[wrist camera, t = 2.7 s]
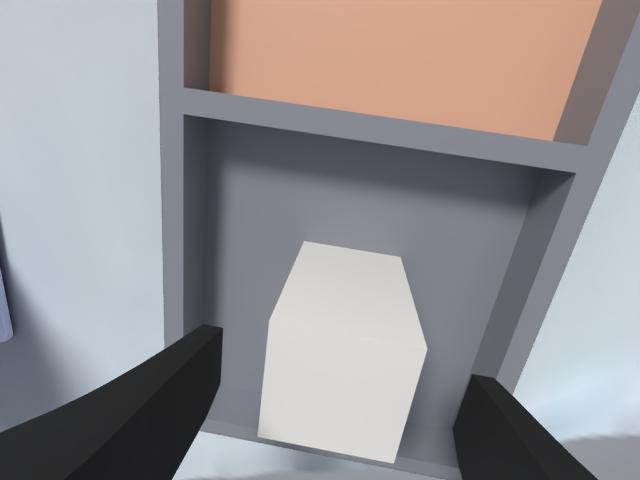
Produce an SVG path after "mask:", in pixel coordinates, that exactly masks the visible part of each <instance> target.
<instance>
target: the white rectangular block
mask: <svg viewBox="0 0 640 480" xmlns="http://www.w3.org/2000/svg"><path fill="white" fill-rule="evenodd" d="M426 352H427V346H426V342H425V339H424V335H423V332H422V328H421V325H420V322H419V318H418V315H417V311H416V308H415V305H414V301H413V298H412V294H411V291H410V287H409V284H408V281H407V277H406V274H405V270H404V267H403V264H402V260H401V257H397V256H391V255H385V254H379V253H373V252H367V251H361V250H355V249H349V248H343V247H337V246H331V245H325V244H319V243H313V242H307V241H304V242H303V245H302V247H301V249H300V252H299V254H298V256H297V258H296V261H295V263H294V265H293V267H292V270H291V272H290V274H289V277H288V279H287V281H286V283H285V286H284V288H283V290H282V293H281V295H280V297H279V299H278V302H277V304H276V306H275V309H274V311H273V313H272V315H271V318H270V320H269V328H268V338H267V348H266V358H265V368H264V377H263V387H262V397H261V407H260V417H259V427H258V437H261V438H266V439H271V440H276V441H281V442H286V443H291V444H297V445H302V446H307V447H312V448H317V449H322V450H327V451H332V452H337V453H342V454H347V455H352V456H357V457H362V458H368V459H373V460H378V461H383V462H388V463H393V464H394V461H395V458H396V454H397V451H398V448H399V444H400V441H401V437H402V434H403V431H404V427H405V424H406V420H407V417H408V414H409V410H410V407H411V403H412V400H413V397H414V393H415V390H416V386H417V383H418V380H419V376H420V373H421V369H422V366H423V363H424V359H425V356H426Z"/></svg>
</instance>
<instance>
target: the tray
mask: <svg viewBox="0 0 640 480" xmlns="http://www.w3.org/2000/svg"><path fill="white" fill-rule="evenodd" d="M157 9H158V57H159V104H160V152H161V199H162V247H163V294H164V342H165V348H167V347H169V346H170V345H172V344H173V343H175V342H176V341H178V340H179V339H181V338H182V337H184V336H185V335H187V334H188V333H190V332H192V331H193V330H195V329H196V328H198V327H199V326H201V325H203V324H205V325H211V326H216V327H222V328H223V343H222V364H221V383H220V386H219V388H218V391H217V393H216V396H215V398H214V401H213V403H212V405H211V408H210V410H209V412H208V415H207V417H206V419H205V421H204V423H203V424H202V426H201V428H200V430H199V431H203V432H208V433H213V434H218V435H223V436H228V437H233V438H238V439H243V440H248V441H253V442H259V443H264V444H269V445H274V446H279V447H284V448H289V449H294V450H299V451H304V452H309V453H314V454H319V455H324V456H329V457H334V458H339V459H344V460H349V461H355V462H360V463H365V464H370V465H375V466H380V467H385V468H390V469H395V470H400V471H405V472H410V473H415V474H420V475H425V476H430V477H435V478H441V479H446V480H462V477H461V473H460V469H459V465H458V459H457V454H456V448H455V442H454V435H453V429H452V428H453V425H454V422H455V420H456V417H457V414H458V411H459V409H460V406H461V403H462V400H463V397H464V395H465V392H466V389H467V386H468V383H469V381H470V378H471V375H472V374H476V375H481V376H487V377H492V378H495V379H496V380H497V381H498V382H499V383H500V384H501V385H502V386H503V387H504V388H505V389H506V390H507V391H508V392H509V393H510V394H511V395H512V394H513V392H514V390H515V387H516V385H517V382H518V380H519V378H520V375H521V373H522V371H523V368H524V366H525V363H526V361H527V359H528V356H529V354H530V351H531V349H532V347H533V344H534V342H535V339H536V337H537V335H538V332H539V330H540V328H541V325H542V323H543V320H544V318H545V316H546V313H547V311H548V308H549V306H550V304H551V301H552V299H553V296H554V294H555V292H556V289H557V287H558V285H559V282H560V280H561V277H562V275H563V273H564V270H565V268H566V265H567V263H568V261H569V258H570V256H571V253H572V251H573V249H574V246H575V244H576V242H577V239H578V237H579V234H580V232H581V230H582V227H583V225H584V222H585V220H586V218H587V215H588V213H589V210H590V208H591V206H592V203H593V201H594V199H595V196H596V194H597V191H598V189H599V187H600V184H601V182H602V179H603V177H604V175H605V172H606V170H607V168H608V165H609V163H610V160H611V158H612V156H613V153H614V151H615V148H616V146H617V144H618V141H619V139H620V136H621V134H622V132H623V129H624V127H625V125H626V122H627V120H628V117H629V115H630V113H631V110H632V108H633V105H634V103H635V101H636V98H637V96H638V93H639V91H640V0H157ZM304 241H307V242H313V243H319V244H325V245H331V246H337V247H343V248H349V249H355V250H361V251H367V252H373V253H379V254H385V255H391V256H397V257H401V260H402V264H403V267H404V270H405V274H406V277H407V281H408V284H409V287H410V291H411V294H412V298H413V301H414V305H415V308H416V311H417V315H418V318H419V322H420V325H421V328H422V332H423V335H424V339H425V342H426V346H427V352H426V356H425V359H424V363H423V366H422V369H421V373H420V376H419V380H418V383H417V386H416V390H415V393H414V397H413V400H412V403H411V407H410V410H409V414H408V417H407V420H406V424H405V427H404V431H403V434H402V437H401V441H400V444H399V448H398V451H397V454H396V458H395V461H394V464H393V463H388V462H383V461H378V460H373V459H368V458H362V457H357V456H352V455H347V454H342V453H337V452H332V451H327V450H322V449H317V448H312V447H307V446H302V445H297V444H291V443H286V442H281V441H276V440H271V439H266V438H261V437H258V427H259V417H260V407H261V397H262V387H263V377H264V368H265V358H266V348H267V338H268V328H269V320H270V318H271V315H272V313H273V311H274V309H275V306H276V304H277V302H278V299H279V297H280V295H281V293H282V290H283V288H284V286H285V283H286V281H287V279H288V277H289V274H290V272H291V270H292V267H293V265H294V263H295V261H296V258H297V256H298V254H299V252H300V249H301V247H302V245H303V242H304Z"/></svg>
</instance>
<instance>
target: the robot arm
mask: <svg viewBox="0 0 640 480" xmlns="http://www.w3.org/2000/svg"><path fill="white" fill-rule="evenodd" d="M12 336H13V330H12V325H11V320H10V315H9V310H8V305H7V300H6V295H5V290H4V285H3V280H2V274H1V269H0V342H5V341H7V340H8V339H10V338H11V337H12ZM222 343H223V328H222V327H216V326H211V325H205V324H203V325H201V326H199V327H198V328H196V329H195V330H193V331H192V332H190V333H188V334H187V335H185V336H184V337H182V338H181V339H179V340H178V341H176V342H175V343H173V344H172V345H170V346H169V347H167V348H165V349H164V350H162V351H161V352H159V353H158V354H156V355H154V356H153V357H151V358H150V359H148V360H146V361H145V362H143V363H142V364H140V365H138V366H136V367H135V368H133V369H131V370H129V371H128V372H126V373H124V374H123V375H121V376H119V377H117V378H116V379H114V380H112V381H110V382H109V383H107V384H105V385H103V386H101V387H99V388H98V389H96V390H94V391H92V392H90V393H88V394H86V395H84V396H82V397H80V398H78V399H76V400H74V401H72V402H69V403H67V404H65V405H63V406H61V407H59V408H57V409H55V410H53V411H50V412H48V413H46V414H43V415H41V416H39V417H36V418H34V419H32V420H29V421H27V422H24V423H22V424H20V425H17V426H15V427H13V428H10V429H8V430H5V431H3V432H1V433H0V480H172V478H173V477H174V475H175V473H176V471H177V469H178V468H179V466H180V464H181V462H182V460H183V459H184V457H185V455H186V453H187V452H188V450H189V448H190V446H191V444H192V443H193V441H194V439H195V437H196V435H197V434H198V432H199V430H200V428H201V426H202V424H203V423H204V421H205V419H206V417H207V415H208V412H209V410H210V408H211V405H212V403H213V401H214V398H215V396H216V393H217V391H218V388H219V386H220V383H221V364H222ZM452 429H453V435H454V442H455V448H456V454H457V459H458V465H459V469H460V473H461V477H462V480H598V479H597V478H596V477H595V476H593V475H592V474H591V473H590V472H589V471H588V470H587V469H586V468H585V467H584V466H583V465H582V464H580V463H579V462H578V461H577V460H576V459H575V458H574V457H573V456H572V455H571V454H570V453H569V452H568V451H567V450H566V449H565V448H564V447H563V446H562V445H561V444H560V443H559V442H558V441H557V440H556V439H555V438H554V437H553V436H552V435H551V434H550V433H549V432H548V431H547V430H546V429H545V428H544V427H543V426H542V425H541V424H540V423H539V422H538V421H537V420H536V419H535V418H534V417H533V416H532V415H531V414H530V413H529V412H528V411H527V410H526V409H525V408H524V407H523V406H522V405H521V404H520V403H519V402H518V401H517V400H516V399H515V398H514V397H513V396H512V395H511V394H510V393H509V392H508V391H507V390H506V389H505V388H504V387H503V386H502V385H501V384H500V383H499V382H498V381H497V380H496V379H495V378H492V377H487V376H481V375H476V374H472V375H471V378H470V381H469V383H468V386H467V389H466V392H465V395H464V397H463V400H462V403H461V406H460V409H459V411H458V414H457V417H456V420H455V422H454V425H453V428H452Z"/></svg>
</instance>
